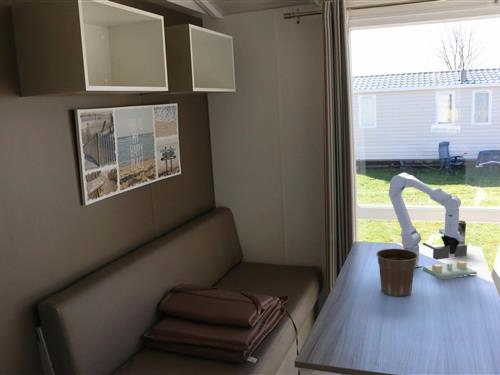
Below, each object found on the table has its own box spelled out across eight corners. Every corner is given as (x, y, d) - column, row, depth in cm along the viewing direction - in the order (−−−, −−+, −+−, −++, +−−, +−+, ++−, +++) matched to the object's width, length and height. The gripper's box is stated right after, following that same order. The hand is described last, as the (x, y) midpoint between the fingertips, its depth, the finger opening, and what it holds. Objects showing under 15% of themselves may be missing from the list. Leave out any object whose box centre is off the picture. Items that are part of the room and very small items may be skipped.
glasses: (436, 259, 231) (436, 248, 230) (422, 252, 241) (422, 242, 240) (466, 255, 235) (467, 245, 235) (451, 249, 245) (452, 239, 244)
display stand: (441, 279, 227) (442, 271, 226) (422, 269, 240) (423, 261, 239) (476, 274, 232) (476, 266, 231) (455, 265, 245) (456, 257, 244)
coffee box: (445, 253, 262) (446, 222, 259) (444, 249, 268) (445, 219, 266) (464, 254, 260) (466, 223, 257) (463, 250, 266) (464, 220, 263)
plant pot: (371, 295, 212) (371, 257, 209) (380, 282, 226) (381, 246, 223) (411, 301, 204) (413, 262, 201) (419, 287, 218) (420, 251, 215)
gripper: (470, 226, 226) (468, 256, 228) (448, 219, 240) (447, 247, 242) (456, 228, 224) (454, 258, 226) (435, 220, 238) (434, 248, 240)
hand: (450, 252), depth 234 cm, fingers closed on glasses, 2 cm apart
